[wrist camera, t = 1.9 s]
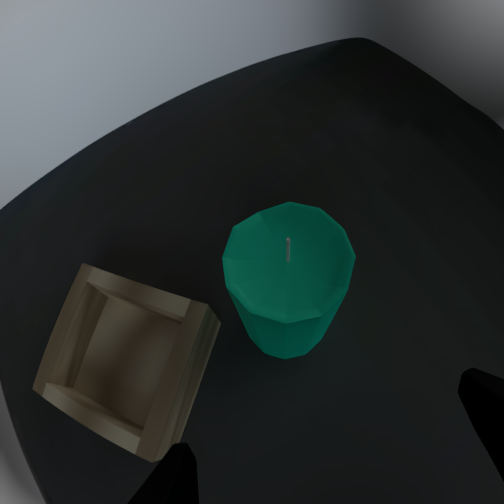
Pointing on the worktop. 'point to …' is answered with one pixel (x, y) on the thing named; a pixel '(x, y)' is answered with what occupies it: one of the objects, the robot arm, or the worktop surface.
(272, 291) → the candle
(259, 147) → the worktop surface
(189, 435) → the worktop surface
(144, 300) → the candle holder
